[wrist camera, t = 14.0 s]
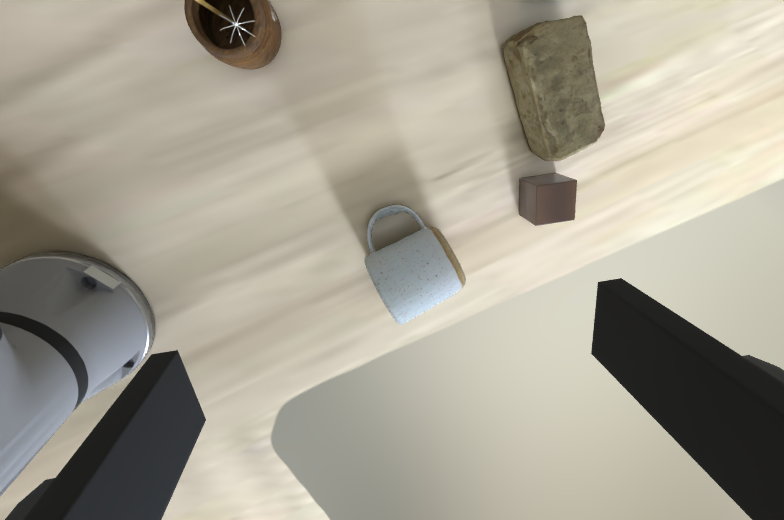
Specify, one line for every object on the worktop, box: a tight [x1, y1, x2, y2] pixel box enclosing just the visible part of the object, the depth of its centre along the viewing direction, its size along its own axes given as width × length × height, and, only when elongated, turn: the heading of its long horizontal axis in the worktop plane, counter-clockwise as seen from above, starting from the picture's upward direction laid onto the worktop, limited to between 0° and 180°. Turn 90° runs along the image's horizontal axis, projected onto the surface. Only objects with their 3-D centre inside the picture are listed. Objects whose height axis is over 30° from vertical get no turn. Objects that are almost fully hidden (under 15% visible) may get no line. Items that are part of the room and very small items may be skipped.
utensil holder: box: [185, 0, 281, 69], centre depth 27 cm, size 6×6×12 cm
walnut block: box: [520, 173, 577, 226], centre depth 39 cm, size 4×4×4 cm
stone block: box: [503, 16, 605, 162], centre depth 35 cm, size 6×12×5 cm, turn 25°
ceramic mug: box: [365, 205, 466, 324], centre depth 38 cm, size 11×8×8 cm
